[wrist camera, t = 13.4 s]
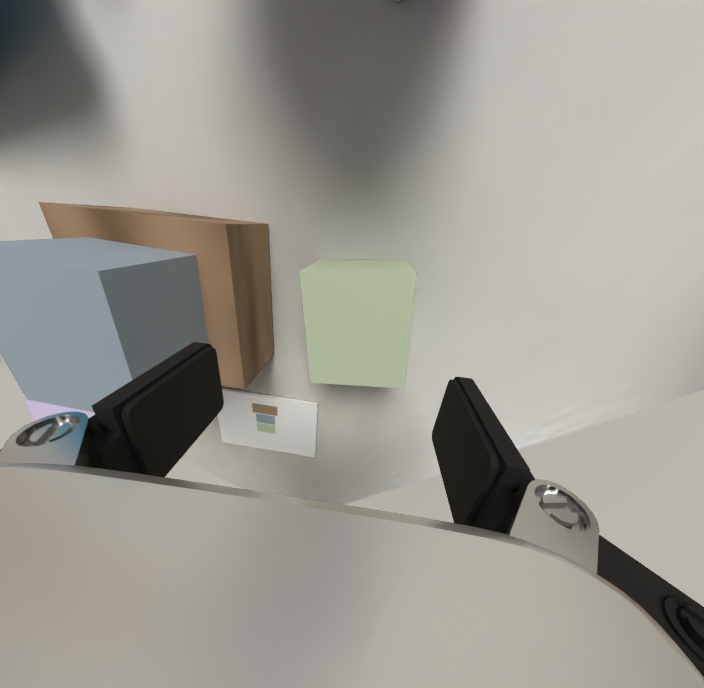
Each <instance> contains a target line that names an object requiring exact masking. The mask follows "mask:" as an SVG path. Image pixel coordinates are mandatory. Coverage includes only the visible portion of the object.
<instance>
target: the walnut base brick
mask: <svg viewBox="0 0 704 688" xmlns="http://www.w3.org/2000/svg"><path fill="white" fill-rule="evenodd" d="M39 204H40V207H41V209H42V212H43V214H44V217H45V219H46V222H47V224H48V227H49V229H50V232H51V234H52V236H53V239H60V238H81V237H90V238H96V239H103V240H109V241H115V242H121V243H127V244H133V245H139V246H146V247H152V248H158V249H164V250H170V251H176V252H183V253H189V254H195V255H196V258H197V265H198V272H199V279H200V287H201V294H202V301H203V308H204V315H205V322H206V329H207V337H208V344H211V345H212V347H213V348H215V349H216V352H217V359H218V366H219V372H220V379H221V386H227V387H233V388H240V389H245V388H246V387H247V386H248V385H249V383H250V382H251V381H252V380H253V379H254V377H255V376H256V375H257V374H258V373H259V371H260V370H261V369H262V368H263V367H264V365H265V364H266V363H267V362H268V361H269V360H270V358H271V357H272V356H273V355H274V342H273V320H272V298H271V276H270V254H269V232H268V224H264V223H256V222H247V221H239V220H230V219H221V218H213V217H204V216H195V215H187V214H178V213H170V212H161V211H152V210H144V209H135V208H125V207H108V206H92V205H76V204H59V203H43V202H39Z"/></svg>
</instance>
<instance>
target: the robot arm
mask: <svg viewBox="0 0 704 688" xmlns="http://www.w3.org/2000/svg"><path fill="white" fill-rule="evenodd" d="M223 405H224V399H223V392H222V386H221V379H220V372H219V366H218V359H217V352H216V349H215V348H213V347H212V345H211V344H208V343H200V342H193V343H191V344H189V345H188V346H186V347H185V348H183V349H181V350H180V351H178V352H177V353H175V354H173V355H172V356H170V357H169V358H167V359H165V360H164V361H162V362H161V363H159V364H157V365H156V366H154V367H153V368H151V369H149V370H148V371H146V372H145V373H143V374H141V375H140V376H138V377H137V378H135V379H133V380H132V381H130V382H129V383H127V384H125V385H124V386H122V387H121V388H119V389H117V390H116V391H114V392H113V393H111V394H109V395H108V396H106V397H105V398H103V399H101V400H100V401H98V402H97V403H95V404H93V405H92V409H93V411H94V413H95V415H93V416H92V417H90V418H88V416H87V415H86V414H85V413H82V412H63V413H57V414H53V415H50V416H46V417H43V418H41V419H38V420H36V421H33V422H31V423H30V424H27V425H26V426H24V427H22V428H20V429H19V430H18V431H16V432H15V433H13V434H12V435H11V436H10V438H9V439H8V440H7V441H6V443H5V444H4V446H3V448H2V449H1V450H0V688H704V607H703V606H701V605H700V604H698V603H697V602H695V601H694V600H692V599H691V598H690V597H688V596H687V595H685V594H684V593H682V592H681V591H680V590H678V589H677V588H675V587H674V586H672V585H671V584H669V583H668V582H667V581H665V580H664V579H662V578H661V577H660V576H658V575H656V574H655V573H654V572H652V571H650V570H649V569H648V568H646V567H645V566H644V565H642V564H641V563H639V562H638V561H636V560H635V559H633V558H632V557H631V556H629V555H628V554H626V553H625V552H623V551H622V550H621V549H619V548H618V547H616V546H615V545H613V544H612V543H610V542H609V541H607V540H606V539H605V538H603V537H602V536H600V535H599V526H598V522H597V520H596V518H595V516H594V515H593V513H592V512H591V511H590V509H589V508H588V507H587V506H586V504H585V503H584V502H583V501H581V500H580V499H579V498H578V497H577V496H576V495H575V494H573V493H572V492H570V491H569V490H567V489H566V488H564V487H562V486H560V485H558V484H556V483H553V482H550V481H547V480H539V479H537V480H535V478H534V477H533V475H532V474H531V472H530V469H529V467H528V466H527V464H526V462H525V461H524V459H523V458H522V456H521V455H520V453H519V451H518V450H517V448H516V447H515V445H514V444H513V442H512V440H511V439H510V437H509V436H508V434H507V433H506V431H505V429H504V428H503V426H502V425H501V423H500V422H499V420H498V418H497V417H496V415H495V414H494V412H493V411H492V409H491V407H490V406H489V404H488V403H487V401H486V400H485V398H484V397H483V395H482V393H481V392H480V390H479V389H478V387H477V386H476V384H475V382H474V381H473V380H472V379H470V378H463V377H455V378H454V380H450V381H449V382H448V385H447V388H446V391H445V394H444V397H443V401H442V404H441V407H440V410H439V413H438V416H437V419H436V422H435V425H434V428H433V432H432V441H433V445H434V448H435V452H436V456H437V460H438V463H439V467H440V471H441V475H442V479H443V482H444V486H445V490H446V494H447V497H448V501H449V505H450V509H451V512H452V516H453V520H454V523H450V522H444V521H439V520H432V519H427V518H421V517H416V516H410V515H404V514H397V513H391V512H385V511H379V510H372V509H366V508H360V507H354V506H348V505H341V504H335V503H329V502H323V501H316V500H310V499H303V498H297V497H290V496H284V495H277V494H271V493H264V492H258V491H251V490H245V489H238V488H232V487H225V486H219V485H212V484H205V483H198V482H191V481H185V480H178V479H171V478H165V476H166V475H167V474H168V472H169V471H170V470H171V469H172V468H173V466H174V465H175V464H176V463H177V462H178V461H179V459H180V458H181V457H182V456H183V455H184V454H185V452H186V451H187V450H188V449H189V448H190V446H191V445H192V444H193V443H194V442H195V441H196V439H197V438H198V437H199V436H200V435H201V434H202V432H203V431H204V430H205V429H206V428H207V426H208V425H209V424H210V423H211V422H212V421H213V419H214V418H215V417H216V416H217V415H218V413H219V412H220V411H221V410H222V408H223Z"/></svg>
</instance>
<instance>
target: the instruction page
mask: <svg viewBox="0 0 704 688" xmlns="http://www.w3.org/2000/svg"><path fill="white" fill-rule="evenodd" d="M222 392H223V399H224V405H223V408H222V410H221V411H220V412H219V413H218V415H217V416H218V422H219V427H220V433H221V438H222V442H225V443H231V444H237V445H243V446H249V447H255V448H260V449H266V450H272V451H278V452H284V453H290V454H296V455H302V456H308V457H313V458H315V455H316V436H317V416H318V403H316V402H309V401H303V400H297V399H290V398H284V397H278V396H271V395H265V394H258V393H252V392H246V391H239V390H233V389H227V388H222Z"/></svg>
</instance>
